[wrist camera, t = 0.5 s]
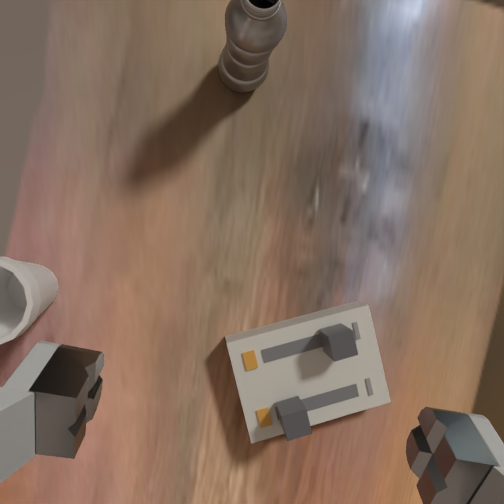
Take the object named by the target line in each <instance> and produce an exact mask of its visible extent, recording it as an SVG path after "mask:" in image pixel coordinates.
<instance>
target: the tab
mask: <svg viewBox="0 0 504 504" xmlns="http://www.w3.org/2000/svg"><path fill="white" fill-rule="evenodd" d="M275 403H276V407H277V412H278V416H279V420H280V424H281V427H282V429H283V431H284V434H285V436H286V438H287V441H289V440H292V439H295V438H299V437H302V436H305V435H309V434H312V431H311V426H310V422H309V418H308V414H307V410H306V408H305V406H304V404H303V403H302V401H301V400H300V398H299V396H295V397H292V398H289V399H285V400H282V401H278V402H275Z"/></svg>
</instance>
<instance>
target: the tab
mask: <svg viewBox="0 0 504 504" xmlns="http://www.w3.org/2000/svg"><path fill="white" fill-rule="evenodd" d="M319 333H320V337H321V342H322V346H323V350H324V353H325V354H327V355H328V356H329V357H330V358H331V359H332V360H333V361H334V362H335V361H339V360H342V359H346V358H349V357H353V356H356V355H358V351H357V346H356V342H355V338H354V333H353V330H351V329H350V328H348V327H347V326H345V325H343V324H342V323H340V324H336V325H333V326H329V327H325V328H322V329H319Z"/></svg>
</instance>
